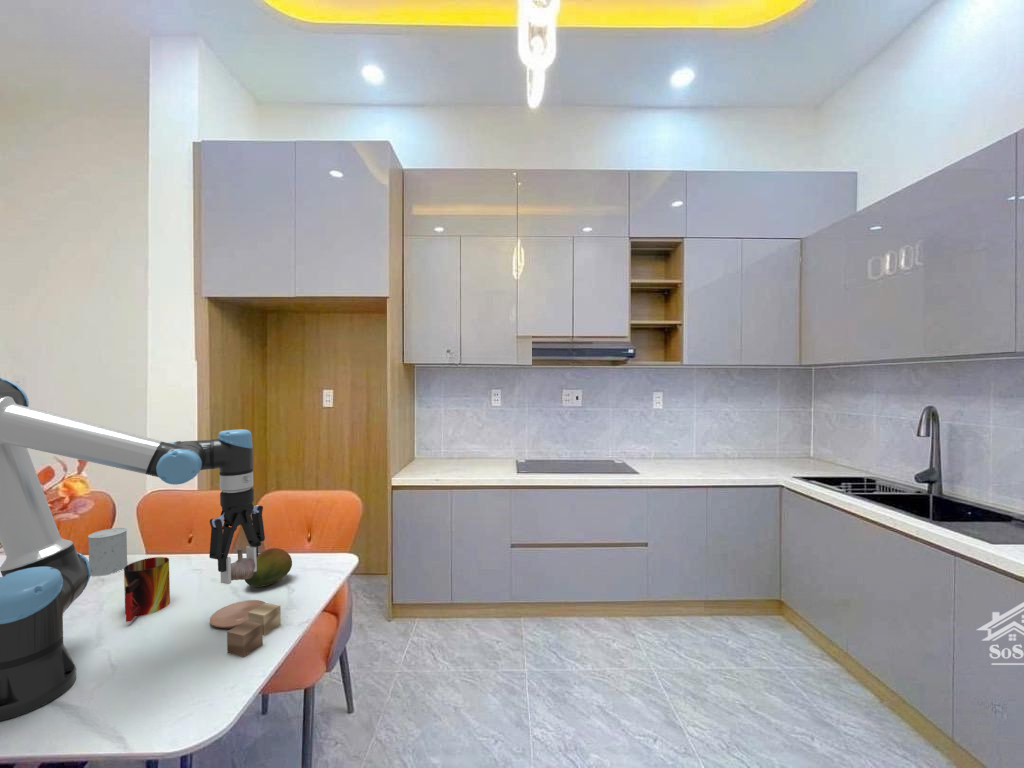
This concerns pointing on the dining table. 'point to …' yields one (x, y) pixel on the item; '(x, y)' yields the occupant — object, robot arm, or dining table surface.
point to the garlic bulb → (242, 567)
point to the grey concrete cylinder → (107, 551)
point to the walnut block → (244, 638)
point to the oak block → (266, 616)
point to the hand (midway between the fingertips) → (239, 576)
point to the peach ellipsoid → (233, 614)
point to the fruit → (270, 567)
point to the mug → (146, 586)
